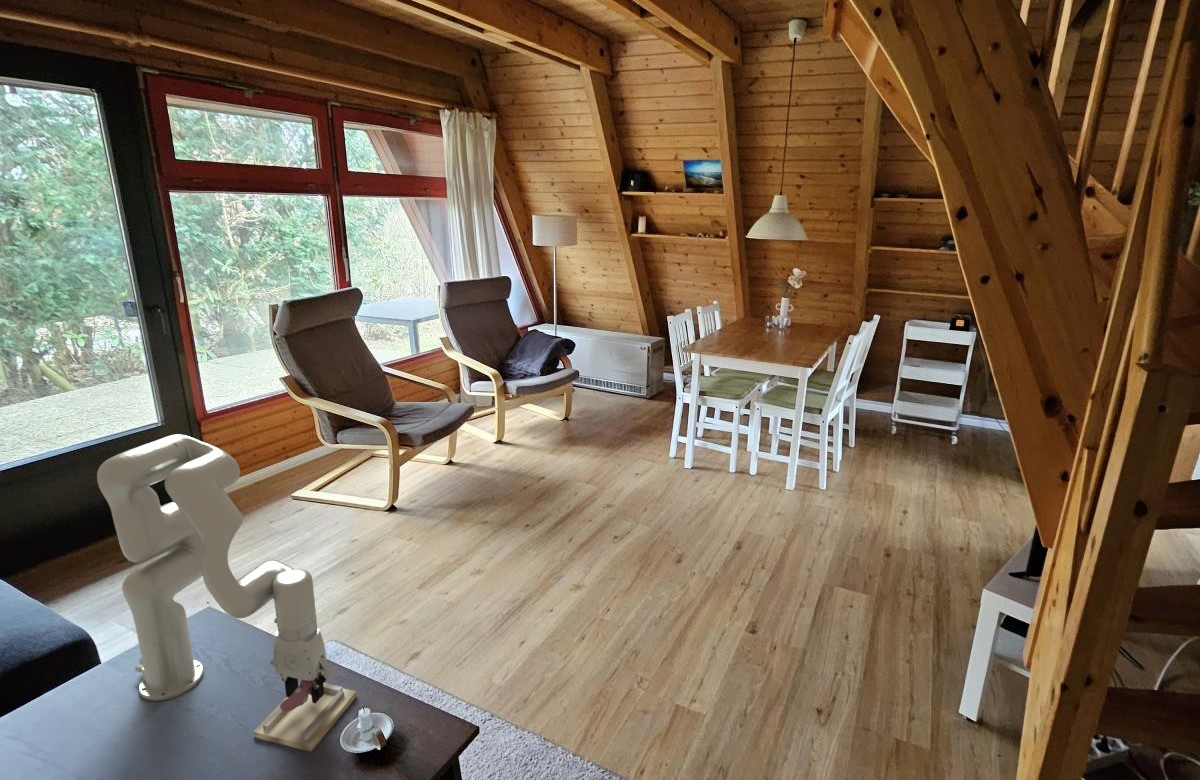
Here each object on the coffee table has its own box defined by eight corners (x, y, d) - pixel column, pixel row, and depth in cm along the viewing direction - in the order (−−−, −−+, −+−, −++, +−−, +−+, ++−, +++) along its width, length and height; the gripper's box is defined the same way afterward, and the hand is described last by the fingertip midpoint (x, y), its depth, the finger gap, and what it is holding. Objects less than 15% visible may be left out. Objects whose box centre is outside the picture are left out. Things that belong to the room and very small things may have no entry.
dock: (253, 737, 133) (252, 727, 133) (304, 684, 148) (303, 675, 148) (311, 751, 130) (310, 741, 130) (356, 696, 145) (355, 687, 145)
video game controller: (294, 721, 133) (304, 700, 131) (276, 710, 134) (286, 688, 131) (323, 688, 143) (333, 668, 140) (306, 678, 143) (316, 657, 141)
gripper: (249, 630, 131) (259, 700, 136) (321, 645, 128) (328, 716, 133) (275, 608, 138) (283, 676, 143) (344, 622, 135) (350, 691, 140)
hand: (305, 695), depth 138 cm, fingers closed on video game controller, 5 cm apart
